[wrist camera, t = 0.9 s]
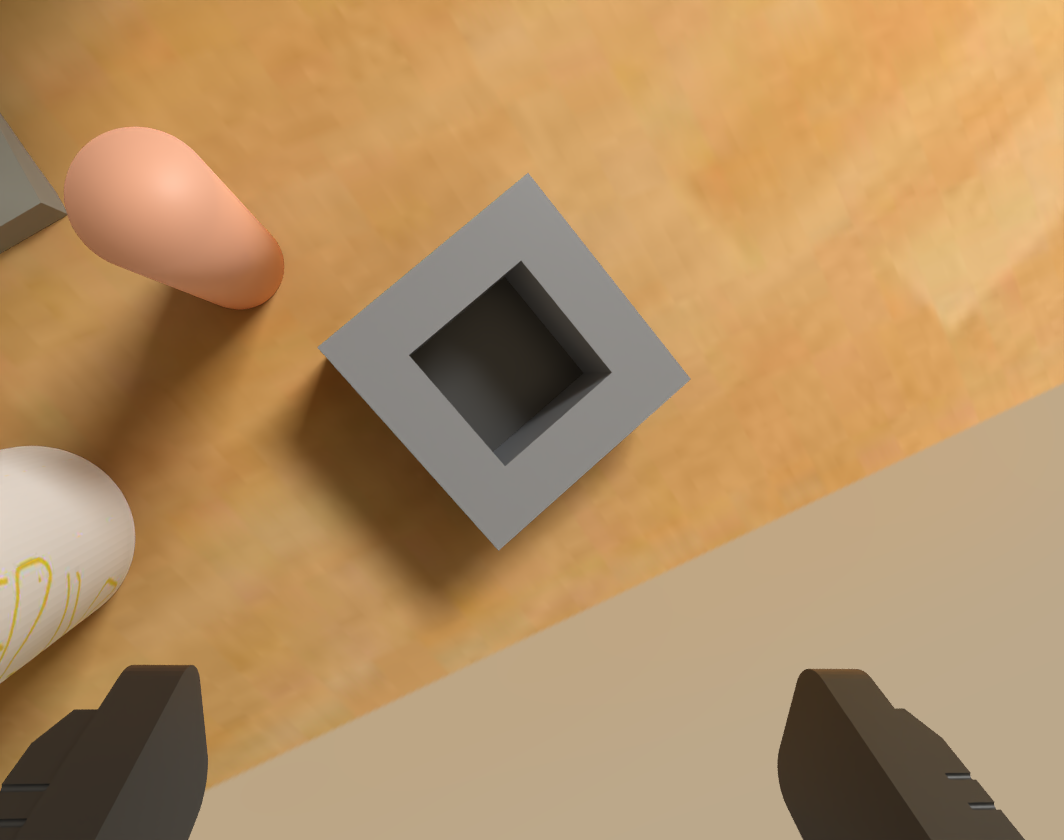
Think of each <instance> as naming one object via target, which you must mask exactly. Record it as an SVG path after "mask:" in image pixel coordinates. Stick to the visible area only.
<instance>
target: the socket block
mask: <svg viewBox="0 0 1064 840" xmlns="http://www.w3.org/2000/svg"><path fill="white" fill-rule="evenodd" d="M318 349H319V350H320V351H321V352H322V353H323V354H324V355H325V356H326V358H327V359H328V360H329V361H330V362H331V363H332V364H333V365H334V367H335V368H336V369H337V370H338V371H339V372H340V373H341V374H342V376H343V377H344V378H345V379H346V380H347V381H348V382H349V383H350V384H351V386H352V387H353V388H354V389H355V390H356V391H357V392H358V393H359V395H360V396H361V397H362V398H363V399H364V400H365V401H366V402H367V404H368V405H369V406H370V407H371V408H372V409H373V410H374V411H375V413H376V414H377V415H378V416H379V417H380V418H381V419H382V420H383V422H384V423H385V424H386V425H387V426H388V427H389V428H390V429H391V430H392V432H393V433H394V434H395V435H396V436H397V437H398V438H399V439H400V441H401V442H402V443H403V444H404V445H405V446H406V447H407V448H408V450H409V451H410V452H411V453H412V454H413V455H414V456H415V457H416V459H417V460H418V461H419V462H420V463H421V464H422V465H423V466H424V468H425V469H426V470H427V471H428V472H429V473H430V474H431V475H432V477H433V478H434V479H435V480H436V481H437V482H438V483H439V484H440V485H441V487H442V488H443V489H444V490H445V491H446V492H447V493H448V494H449V496H450V497H451V498H452V499H453V500H454V501H455V502H456V503H457V505H458V506H459V507H460V508H461V509H462V510H463V511H464V512H465V514H466V515H467V516H468V517H469V518H470V519H471V520H472V521H473V523H474V524H475V525H476V526H477V527H478V528H479V529H480V530H481V532H482V533H483V534H484V535H485V536H486V537H487V538H488V539H489V540H490V542H491V543H492V544H493V545H494V546H495V547H496V548H497V549H498V551H499V550H500V549H501V548H502V547H503V546H504V545H505V544H507V543H508V542H509V541H510V540H511V539H512V538H513V537H514V536H516V535H517V534H518V533H519V532H520V531H521V530H522V529H523V528H525V527H526V526H527V525H528V524H529V523H530V522H531V521H532V520H533V519H535V518H536V517H537V516H538V515H539V514H540V513H541V512H542V511H544V510H545V509H546V508H547V507H548V506H549V505H550V504H551V503H553V502H554V501H555V500H556V499H557V498H558V497H559V496H560V495H562V494H563V493H564V492H565V491H566V490H567V489H568V488H569V487H570V486H572V485H573V484H574V483H575V482H576V481H577V480H578V479H579V478H581V477H582V476H583V475H584V474H585V473H586V472H587V471H588V470H590V469H591V468H592V467H593V466H594V465H595V464H596V463H597V462H599V461H600V460H601V459H602V458H603V457H604V456H605V455H606V454H607V453H609V452H610V451H611V450H612V449H613V448H614V447H615V446H616V445H618V444H619V443H620V442H621V441H622V440H623V439H624V438H625V437H627V436H628V435H629V434H630V433H631V432H632V431H633V430H634V429H635V428H637V427H638V426H639V425H640V424H641V423H642V422H643V421H644V420H646V419H647V418H648V417H649V416H650V415H651V414H652V413H653V412H655V411H656V410H657V409H658V408H659V407H660V406H661V405H662V404H664V403H665V402H666V401H667V400H668V399H669V398H670V397H671V396H672V395H674V394H675V393H676V392H677V391H678V390H679V389H680V388H681V387H683V386H684V385H685V384H686V383H687V382H688V381H689V380H690V378H689V376H688V375H687V374H686V373H685V371H684V370H683V369H682V367H681V366H680V365H679V364H678V362H677V361H676V360H675V359H674V357H673V356H672V355H671V354H670V352H669V351H668V350H667V348H666V347H665V346H664V345H663V343H662V342H661V341H660V340H659V338H658V337H657V336H656V335H655V333H654V332H653V331H652V329H651V328H650V327H649V326H648V324H647V323H646V322H645V321H644V319H643V318H642V317H641V315H640V314H639V313H638V312H637V310H636V309H635V308H634V307H633V305H632V304H631V303H630V302H629V300H628V299H627V298H626V296H625V295H624V294H623V293H622V291H621V290H620V289H619V288H618V286H617V285H616V284H615V283H614V281H613V280H612V279H611V277H610V276H609V275H608V274H607V272H606V271H605V270H604V269H603V267H602V266H601V265H600V263H599V262H598V261H597V260H596V258H595V257H594V256H593V255H592V253H591V252H590V251H589V250H588V248H587V247H586V246H585V244H584V243H583V242H582V241H581V239H580V238H579V237H578V236H577V234H576V233H575V232H574V231H573V229H572V228H571V227H570V225H569V224H568V223H567V222H566V220H565V219H564V218H563V217H562V215H561V214H560V213H559V212H558V210H557V209H556V208H555V206H554V205H553V204H552V203H551V201H550V200H549V199H548V198H547V196H546V195H545V194H544V192H543V191H542V190H541V189H540V187H539V186H538V185H537V184H536V182H535V181H534V180H533V179H532V177H531V176H530V175H529V173H527V174H526V175H525V176H524V177H523V178H521V179H520V180H519V181H518V182H516V183H515V184H514V185H513V186H512V187H510V188H509V189H508V190H507V191H506V192H504V193H503V194H502V195H501V196H500V197H498V198H497V199H496V200H495V201H494V202H492V203H491V204H490V205H489V206H488V207H486V208H485V209H484V210H483V211H481V212H480V213H479V214H478V215H477V216H475V217H474V218H473V219H472V220H471V221H469V222H468V223H467V224H466V225H465V226H463V227H462V228H461V229H460V230H459V231H457V232H456V233H455V234H454V235H453V236H451V237H450V238H449V239H448V240H446V241H445V242H444V243H443V244H442V245H440V246H439V247H438V248H437V249H436V250H434V251H433V252H432V253H431V254H430V255H428V256H427V257H426V258H425V259H424V260H422V261H421V262H420V263H419V264H417V265H416V266H415V267H414V268H413V269H411V270H410V271H409V272H408V273H407V274H405V275H404V276H403V277H402V278H401V279H399V280H398V281H397V282H396V283H395V284H393V285H392V286H391V287H390V288H389V289H387V290H386V291H385V292H384V293H382V294H381V295H380V296H379V297H378V298H376V299H375V300H374V301H373V302H372V303H370V304H369V305H368V306H367V307H366V308H364V309H363V310H362V311H361V312H360V313H358V314H357V315H356V316H355V317H354V318H352V319H351V320H350V321H349V322H347V323H346V324H345V325H344V326H343V327H341V328H340V329H339V330H338V331H337V332H335V333H334V334H333V335H332V336H331V337H329V338H328V339H327V340H326V341H325V342H323V343H322V344H321V345H320V346H318Z"/></svg>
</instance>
